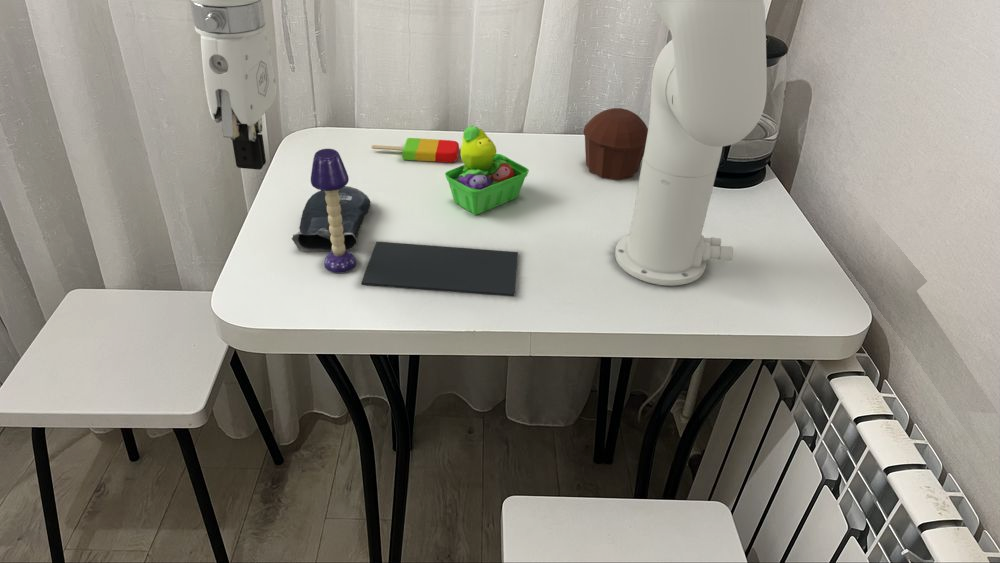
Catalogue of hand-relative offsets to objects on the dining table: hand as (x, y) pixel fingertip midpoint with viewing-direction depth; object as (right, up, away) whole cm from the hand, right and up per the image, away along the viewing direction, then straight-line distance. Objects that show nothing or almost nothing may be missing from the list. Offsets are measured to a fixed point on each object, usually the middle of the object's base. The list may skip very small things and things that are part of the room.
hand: (251, 165), depth 92 cm
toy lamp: (+9, -12, +8) cm, 17 cm away
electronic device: (+7, -6, +17) cm, 19 cm away
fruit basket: (+28, -2, +25) cm, 38 cm away
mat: (+23, -13, +9) cm, 28 cm away
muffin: (+50, +5, +36) cm, 62 cm away
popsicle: (+16, +7, +37) cm, 41 cm away
